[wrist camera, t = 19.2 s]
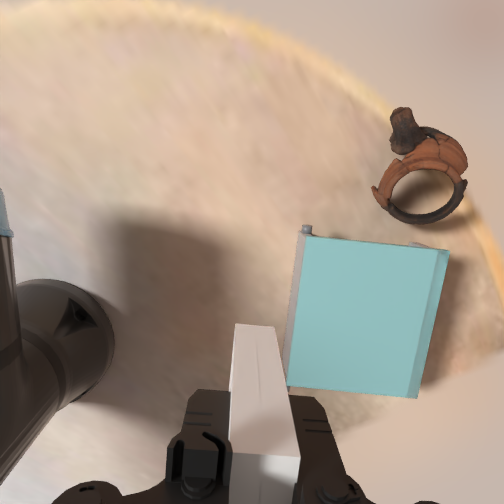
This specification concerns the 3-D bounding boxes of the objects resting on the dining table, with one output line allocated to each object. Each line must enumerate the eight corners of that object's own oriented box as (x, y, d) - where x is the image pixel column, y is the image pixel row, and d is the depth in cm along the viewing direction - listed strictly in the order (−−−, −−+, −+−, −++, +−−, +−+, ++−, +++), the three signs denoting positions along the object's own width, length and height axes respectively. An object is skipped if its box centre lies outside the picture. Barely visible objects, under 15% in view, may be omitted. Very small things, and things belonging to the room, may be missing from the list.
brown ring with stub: (469, 169, 41) (490, 209, 35) (388, 204, 46) (394, 244, 40) (429, 74, 36) (445, 101, 30) (342, 124, 41) (341, 157, 35)
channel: (276, 367, 46) (281, 391, 40) (295, 219, 42) (303, 225, 37) (390, 376, 46) (408, 401, 41) (420, 231, 42) (444, 239, 37)
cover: (286, 381, 41) (286, 385, 40) (306, 235, 37) (307, 236, 36) (414, 394, 41) (417, 398, 40) (446, 249, 37) (450, 251, 37)
